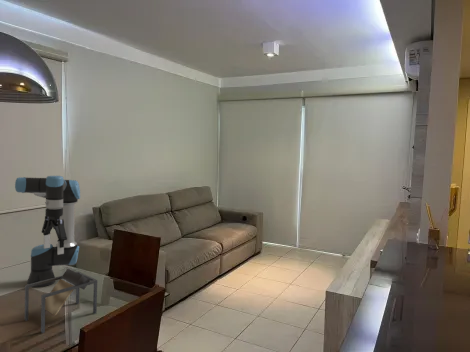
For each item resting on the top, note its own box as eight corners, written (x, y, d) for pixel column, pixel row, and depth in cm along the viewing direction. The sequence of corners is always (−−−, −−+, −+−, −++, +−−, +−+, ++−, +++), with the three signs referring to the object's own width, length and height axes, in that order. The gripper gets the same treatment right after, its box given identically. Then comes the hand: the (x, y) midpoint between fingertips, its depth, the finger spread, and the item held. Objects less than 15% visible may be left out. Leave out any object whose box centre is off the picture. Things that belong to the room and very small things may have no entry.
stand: (77, 302, 193) (78, 271, 191) (96, 313, 182) (97, 280, 181) (24, 320, 171) (25, 285, 170) (42, 333, 160) (42, 295, 159)
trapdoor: (75, 273, 188) (67, 268, 184) (90, 280, 180) (82, 275, 176) (49, 310, 178) (40, 306, 174) (63, 319, 170) (54, 315, 166)
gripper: (34, 204, 174) (33, 246, 176) (59, 212, 159) (58, 258, 161) (49, 203, 180) (49, 244, 181) (75, 210, 165) (74, 255, 167)
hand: (53, 250), depth 171 cm, fingers open, 13 cm apart
